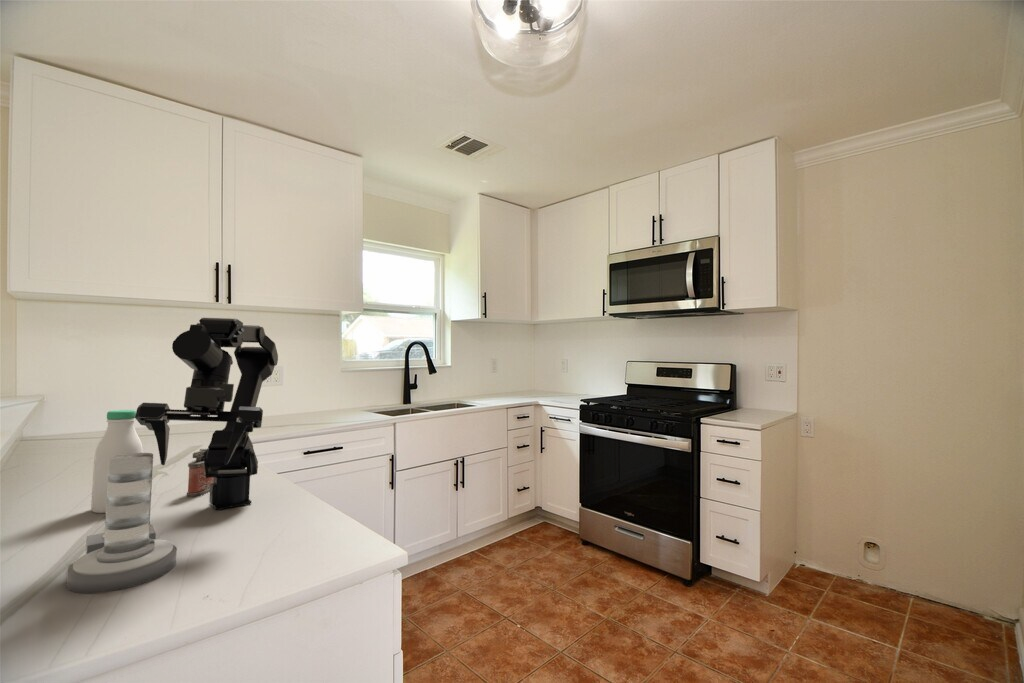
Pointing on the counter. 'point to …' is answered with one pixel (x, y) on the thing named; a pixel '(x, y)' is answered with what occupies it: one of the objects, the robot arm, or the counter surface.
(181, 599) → the counter surface
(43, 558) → the counter surface
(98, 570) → the kitchen scale
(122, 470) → the disc
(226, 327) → the robot arm
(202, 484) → the lighter
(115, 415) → the milk bottle
